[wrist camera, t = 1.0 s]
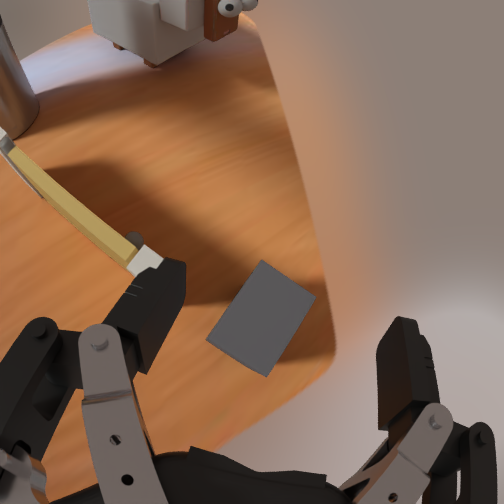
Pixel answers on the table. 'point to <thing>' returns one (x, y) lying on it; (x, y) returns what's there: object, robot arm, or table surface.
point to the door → (79, 213)
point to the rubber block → (261, 319)
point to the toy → (164, 24)
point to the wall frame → (3, 146)
